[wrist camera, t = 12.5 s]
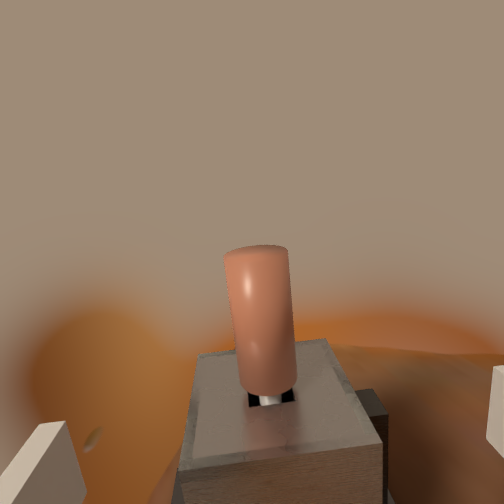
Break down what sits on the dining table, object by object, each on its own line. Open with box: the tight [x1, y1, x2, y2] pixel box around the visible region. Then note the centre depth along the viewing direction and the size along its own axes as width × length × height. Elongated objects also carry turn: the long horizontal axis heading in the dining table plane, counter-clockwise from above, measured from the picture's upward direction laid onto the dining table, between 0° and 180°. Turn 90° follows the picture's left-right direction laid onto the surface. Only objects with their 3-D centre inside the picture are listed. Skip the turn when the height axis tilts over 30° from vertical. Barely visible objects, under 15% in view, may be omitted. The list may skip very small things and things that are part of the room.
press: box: [171, 338, 395, 504], centre depth 23 cm, size 20×20×17 cm
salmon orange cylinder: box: [224, 245, 297, 406], centre depth 22 cm, size 4×4×24 cm
